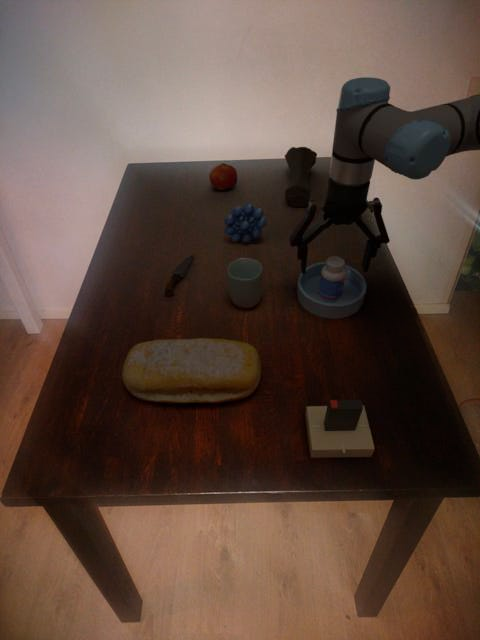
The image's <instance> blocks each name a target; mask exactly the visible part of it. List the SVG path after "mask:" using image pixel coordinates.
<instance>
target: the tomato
mask: <svg viewBox="0 0 480 640" xmlns="http://www.w3.org/2000/svg"><path fill="white" fill-rule="evenodd" d="M209 182H210V184H211V187H213V186H214V187H213V188H214V189H217V188H220V189H217V190H220V191H224V190H227V189H226V188H230V189H231V187H232V188H233V186H234V187H235V186H236V184H237V183H238V172H237V169H236V168H235V167H234V166H233V165H231V164H227V163H225V162H222V163H219V164H217V165H216V166H214V167H213V168H212V169H211V170H210V172H209Z"/></svg>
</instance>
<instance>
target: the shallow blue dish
mask: <svg viewBox="0 0 480 640" xmlns="http://www.w3.org/2000/svg"><path fill="white" fill-rule="evenodd" d="M325 265H326V261H322V262H317V263H313V264H311V265H309V266H306V273H305V274H302V271H301V272H300V273H299V276H298V278H297V282H296V283H297V284H296V299H297V301H298V303H299V305H300V306H301V307H302V308H303V309H304V310H305V311H307V312H308V313H310V314H312V315H313V316H316V317H320V318H324V319H329V320H331V319H332V320H333V319H336V320H338V319H342V318H343V319H344V318H347V317H350V316H352V315H355V314H356V313H357V312H358V311H359V310H360V309H361V308H362V306H363V304H364V301H365V298H366V294H367V287H368V286H367V285H368V284H367V281H366V280H365V277H364V276H363V275H362V274H361V273H360V272H359V271H358V270H357V269H355V268H354V267H351V266H350V265H347V264H344V269H345V271H346V276H345V280H344V285H343V290H342V295H341V297H340V299H338V300H337V301H333V302H329V301H325V300H323V299H322V298H321V297H320V296H319V293H318V292H319V285H320V278H321V271H322V268H323V267H324V266H325Z"/></svg>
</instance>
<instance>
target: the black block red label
mask: <svg viewBox="0 0 480 640" xmlns="http://www.w3.org/2000/svg"><path fill="white" fill-rule="evenodd" d="M362 405H363V402H362V399H329V400H328V401H327V405H326V406H327V410H326V414H325V419H324V428H325V431H355V430H356V427H357V424H358V421H359V418H360V416H361V413H362V410H363V406H362Z"/></svg>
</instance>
